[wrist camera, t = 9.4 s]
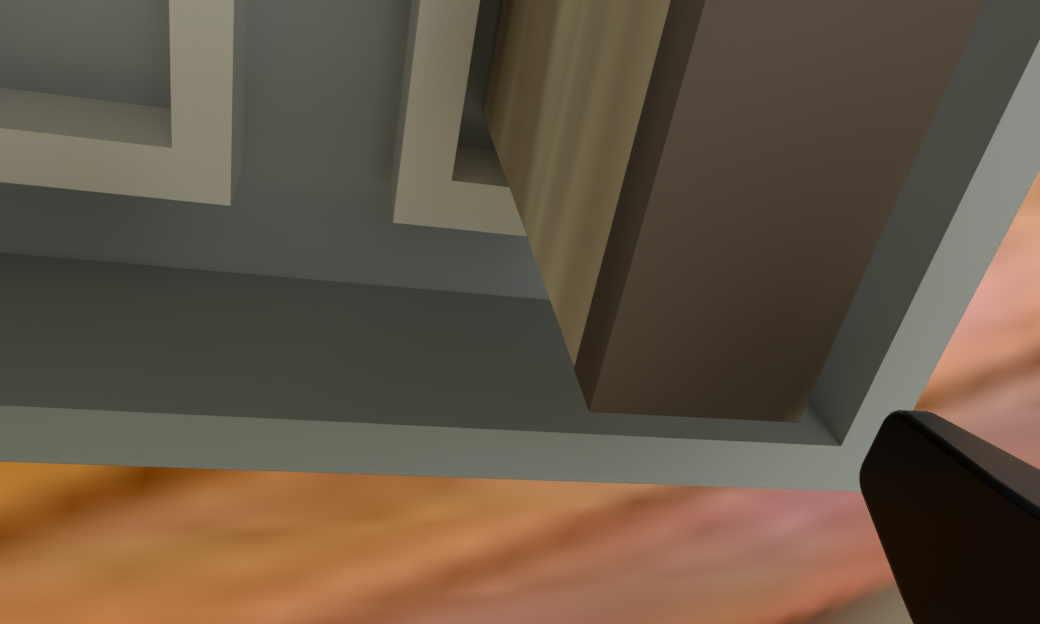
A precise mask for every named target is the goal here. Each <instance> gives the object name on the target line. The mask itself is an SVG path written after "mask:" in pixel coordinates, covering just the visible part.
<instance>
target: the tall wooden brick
mask: <svg viewBox="0 0 1040 624" xmlns="http://www.w3.org/2000/svg"><path fill="white" fill-rule="evenodd" d="M984 3H985V0H500V6H499V12H498V18H497V24H496V30H495V36H494V42H493V48H492V54H491V60H490V66H489V72H488V78H487V84H486V90H485V97H484V103H483V109H482V113H483V116H484V119H485V121H486V124H487V127H488V130H489V132H490V135H491V138H492V141H493V144H494V146H495V149H496V152H497V155H498V157H499V160H500V163H501V166H502V168H503V171H504V174H505V177H506V180H507V182H508V185H509V188H510V191H511V193H512V196H513V199H514V202H515V204H516V207H517V210H518V213H519V216H520V218H521V221H522V224H523V227H524V229H525V232H526V235H527V238H528V240H529V243H530V246H531V249H532V251H533V254H534V257H535V260H536V263H537V265H538V268H539V271H540V274H541V276H542V279H543V282H544V285H545V287H546V290H547V293H548V296H549V299H550V301H551V304H552V307H553V310H554V312H555V315H556V318H557V321H558V323H559V326H560V329H561V332H562V335H563V337H564V340H565V343H566V346H567V348H568V351H569V354H570V357H571V359H572V362H573V365H574V371H575V374H576V377H577V380H578V382H579V385H580V388H581V391H582V393H583V396H584V399H585V402H586V405H587V407H588V410H589V412H600V413H619V414H638V415H657V416H677V417H696V418H715V419H734V420H754V421H773V422H792V423H799V420H800V418H801V416H802V413H803V411H804V409H805V407H806V404H807V402H808V400H809V398H810V395H811V393H812V391H813V389H814V386H815V384H816V382H817V380H818V377H819V375H820V373H821V371H822V368H823V366H824V364H825V362H826V359H827V357H828V355H829V353H830V350H831V348H832V346H833V344H834V341H835V339H836V337H837V334H838V332H839V330H840V328H841V325H842V323H843V321H844V319H845V316H846V314H847V312H848V310H849V307H850V305H851V303H852V301H853V298H854V296H855V294H856V292H857V289H858V287H859V285H860V283H861V280H862V278H863V276H864V274H865V271H866V269H867V267H868V265H869V262H870V260H871V258H872V255H873V253H874V251H875V249H876V246H877V244H878V242H879V240H880V237H881V235H882V233H883V231H884V228H885V226H886V224H887V222H888V219H889V217H890V215H891V213H892V210H893V208H894V206H895V204H896V201H897V199H898V197H899V195H900V192H901V190H902V188H903V186H904V183H905V181H906V179H907V176H908V174H909V172H910V170H911V167H912V165H913V163H914V161H915V158H916V156H917V154H918V152H919V149H920V147H921V145H922V143H923V140H924V138H925V136H926V134H927V131H928V129H929V127H930V125H931V122H932V120H933V118H934V116H935V113H936V111H937V109H938V107H939V104H940V102H941V100H942V97H943V95H944V93H945V91H946V88H947V86H948V84H949V82H950V79H951V77H952V75H953V73H954V70H955V68H956V66H957V64H958V61H959V59H960V57H961V55H962V52H963V50H964V48H965V46H966V43H967V41H968V39H969V37H970V34H971V32H972V30H973V28H974V25H975V23H976V21H977V18H978V16H979V14H980V12H981V9H982V7H983V5H984Z"/></svg>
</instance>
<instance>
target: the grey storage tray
mask: <svg viewBox="0 0 1040 624" xmlns="http://www.w3.org/2000/svg"><path fill="white" fill-rule="evenodd" d="M499 6H500V0H0V462H29V463H58V464H86V465H115V466H144V467H172V468H201V469H230V470H258V471H287V472H316V473H344V474H373V475H401V476H430V477H459V478H487V479H516V480H545V481H573V482H602V483H631V484H659V485H688V486H717V487H745V488H774V489H802V490H831V491H860V492H861V489H860V483H859V473H860V468H861V465H862V463H863V461H864V459H865V457H866V455H867V453H868V451H869V449H870V447H871V445H872V443H873V441H874V439H875V437H876V435H877V433H878V431H879V429H880V427H881V425H882V423H883V421H884V419H885V418H886V417H887V416H888V415H889V414H890V413H891V412H894V411H897V410H912V411H913V409H914V407H915V405H916V403H917V401H918V399H919V398H920V396H921V394H922V392H923V390H924V388H925V386H926V384H927V382H928V380H929V379H930V377H931V375H932V373H933V371H934V369H935V367H936V365H937V363H938V362H939V360H940V358H941V356H942V354H943V352H944V350H945V348H946V346H947V345H948V343H949V341H950V339H951V337H952V335H953V333H954V331H955V329H956V327H957V326H958V324H959V322H960V320H961V318H962V316H963V314H964V312H965V310H966V309H967V307H968V305H969V303H970V301H971V299H972V297H973V295H974V293H975V292H976V290H977V288H978V286H979V284H980V282H981V280H982V278H983V276H984V274H985V273H986V271H987V269H988V267H989V265H990V263H991V261H992V259H993V257H994V256H995V254H996V252H997V250H998V248H999V246H1000V244H1001V242H1002V240H1003V238H1004V237H1005V235H1006V233H1007V231H1008V229H1009V227H1010V225H1011V223H1012V221H1013V220H1014V218H1015V216H1016V214H1017V212H1018V210H1019V208H1020V206H1021V204H1022V203H1023V201H1024V199H1025V197H1026V195H1027V193H1028V191H1029V189H1030V187H1031V185H1032V184H1033V182H1034V180H1035V178H1036V176H1037V174H1038V172H1039V170H1040V0H985V3H984V5H983V7H982V9H981V12H980V14H979V16H978V18H977V21H976V23H975V25H974V28H973V30H972V32H971V34H970V37H969V39H968V41H967V43H966V46H965V48H964V50H963V52H962V55H961V57H960V59H959V61H958V64H957V66H956V68H955V70H954V73H953V75H952V77H951V79H950V82H949V84H948V86H947V88H946V91H945V93H944V95H943V97H942V100H941V102H940V104H939V107H938V109H937V111H936V113H935V116H934V118H933V120H932V122H931V125H930V127H929V129H928V131H927V134H926V136H925V138H924V140H923V143H922V145H921V147H920V149H919V152H918V154H917V156H916V158H915V161H914V163H913V165H912V167H911V170H910V172H909V174H908V176H907V179H906V181H905V183H904V186H903V188H902V190H901V192H900V195H899V197H898V199H897V201H896V204H895V206H894V208H893V210H892V213H891V215H890V217H889V219H888V222H887V224H886V226H885V228H884V231H883V233H882V235H881V237H880V240H879V242H878V244H877V246H876V249H875V251H874V253H873V255H872V258H871V260H870V262H869V265H868V267H867V269H866V271H865V274H864V276H863V278H862V280H861V283H860V285H859V287H858V289H857V292H856V294H855V296H854V298H853V301H852V303H851V305H850V307H849V310H848V312H847V314H846V316H845V319H844V321H843V323H842V325H841V328H840V330H839V332H838V334H837V337H836V339H835V341H834V344H833V346H832V348H831V350H830V353H829V355H828V357H827V359H826V362H825V364H824V366H823V368H822V371H821V373H820V375H819V377H818V380H817V382H816V384H815V386H814V389H813V391H812V393H811V395H810V398H809V400H808V402H807V404H806V407H805V409H804V411H803V413H802V416H801V418H800V420H799V423H792V422H773V421H754V420H734V419H715V418H696V417H677V416H657V415H638V414H619V413H600V412H589V410H588V407H587V405H586V402H585V399H584V396H583V393H582V391H581V388H580V385H579V382H578V380H577V377H576V374H575V371H574V365H573V362H572V359H571V357H570V354H569V351H568V348H567V346H566V343H565V340H564V337H563V335H562V332H561V329H560V326H559V323H558V321H557V318H556V315H555V312H554V310H553V307H552V304H551V301H550V299H549V296H548V293H547V290H546V287H545V285H544V282H543V279H542V276H541V274H540V271H539V268H538V265H537V263H536V260H535V257H534V254H533V251H532V249H531V246H530V243H529V240H528V238H527V235H526V232H525V229H524V227H523V224H522V221H521V218H520V216H519V213H518V210H517V207H516V204H515V202H514V199H513V196H512V193H511V191H510V188H509V185H508V182H507V180H506V177H505V174H504V171H503V168H502V166H501V163H500V160H499V157H498V155H497V152H496V149H495V146H494V144H493V141H492V138H491V135H490V132H489V130H488V127H487V124H486V121H485V119H484V116H483V113H482V109H483V103H484V97H485V90H486V84H487V78H488V72H489V66H490V60H491V54H492V48H493V42H494V36H495V30H496V24H497V18H498V12H499Z"/></svg>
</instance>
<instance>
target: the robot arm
mask: <svg viewBox="0 0 1040 624" xmlns="http://www.w3.org/2000/svg"><path fill="white" fill-rule="evenodd" d="M859 483H860V489H861V492H862V495H863V497H864V500H865V502H866V505H867V508H868V510H869V513H870V515H871V518H872V521H873V523H874V526H875V528H876V531H877V534H878V536H879V539H880V541H881V544H882V547H883V549H884V552H885V555H886V557H887V560H888V562H889V565H890V568H891V570H892V573H893V575H894V578H895V581H896V583H897V586H898V588H899V591H900V594H901V596H902V598H903V601H904V603H905V606H906V608H907V610H908V613H909V615H910V618H911V620H912V622H913V624H1040V470H1039V469H1037V468H1035V467H1033V466H1032V465H1030V464H1028V463H1026V462H1024V461H1022V460H1020V459H1018V458H1017V457H1015V456H1013V455H1011V454H1009V453H1007V452H1005V451H1003V450H1002V449H1000V448H998V447H996V446H994V445H992V444H990V443H988V442H987V441H985V440H983V439H981V438H979V437H977V436H975V435H973V434H972V433H970V432H968V431H966V430H964V429H962V428H960V427H958V426H957V425H955V424H953V423H951V422H949V421H947V420H945V419H943V418H942V417H940V416H938V415H936V414H934V413H931V412H927V411H912V410H897V411H894V412H891V413H890V414H889V415H888V416H887V417H886V418H885V419H884V421H883V423H882V425H881V427H880V429H879V431H878V433H877V435H876V437H875V439H874V441H873V443H872V445H871V447H870V449H869V451H868V453H867V455H866V457H865V459H864V461H863V463H862V465H861V468H860V473H859Z"/></svg>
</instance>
